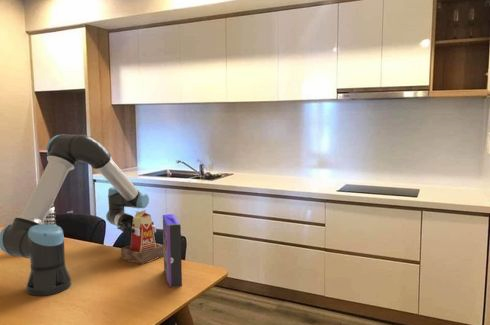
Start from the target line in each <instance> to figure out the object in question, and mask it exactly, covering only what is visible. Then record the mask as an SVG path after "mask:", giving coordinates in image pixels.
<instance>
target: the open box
mask: <svg viewBox="0 0 490 325" xmlns="http://www.w3.org/2000/svg"><path fill="white" fill-rule="evenodd" d="M120 254H121V255H120V257H121V260H124V259H125V261H127V260H129V261H128V262H131V261H132V262H131V263H134V262H137V263H136V264H138V263H140V264H139V265H141V264H142V265H144V264H143V263H145V262H147V263H149V262H148V261H150V260H152V259H155V258H157V257H160V258H162V257H163V258H164V246H163V244H160V243H156V248H153V249H151V250H148V251H145V252H142V253H141V252H137V251H133V250H131V244H129V245H126V246H123V247H121V248H120ZM155 260H156V259H155ZM150 262H151V261H150ZM145 264H146V263H145Z"/></svg>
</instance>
